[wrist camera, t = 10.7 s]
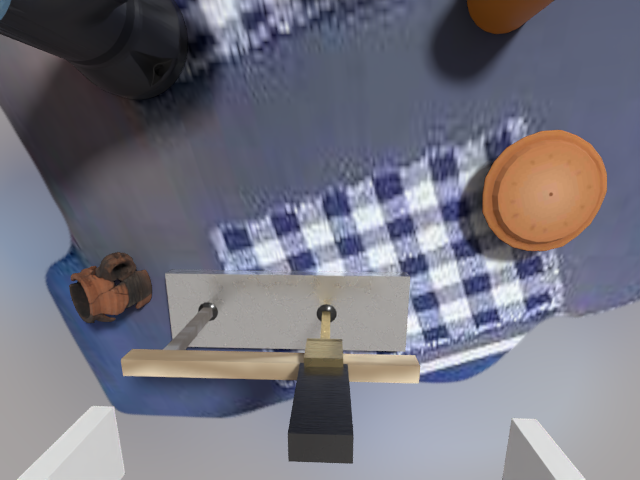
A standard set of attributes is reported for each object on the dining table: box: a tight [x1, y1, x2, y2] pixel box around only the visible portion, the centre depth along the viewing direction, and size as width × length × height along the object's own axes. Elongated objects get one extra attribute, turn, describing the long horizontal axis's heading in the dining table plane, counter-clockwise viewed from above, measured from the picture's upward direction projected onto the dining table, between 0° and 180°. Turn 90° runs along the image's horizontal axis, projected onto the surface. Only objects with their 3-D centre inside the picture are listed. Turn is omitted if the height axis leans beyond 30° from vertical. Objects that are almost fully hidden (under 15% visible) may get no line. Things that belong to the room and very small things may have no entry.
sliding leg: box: [288, 311, 353, 463], centre depth 35 cm, size 5×5×23 cm
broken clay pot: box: [69, 252, 152, 323], centre depth 47 cm, size 12×10×8 cm
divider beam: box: [121, 307, 420, 383], centre depth 40 cm, size 2×32×14 cm, turn 90°
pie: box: [482, 130, 607, 251], centre depth 42 cm, size 16×16×5 cm
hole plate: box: [165, 269, 410, 351], centre depth 48 cm, size 12×36×2 cm, turn 90°
